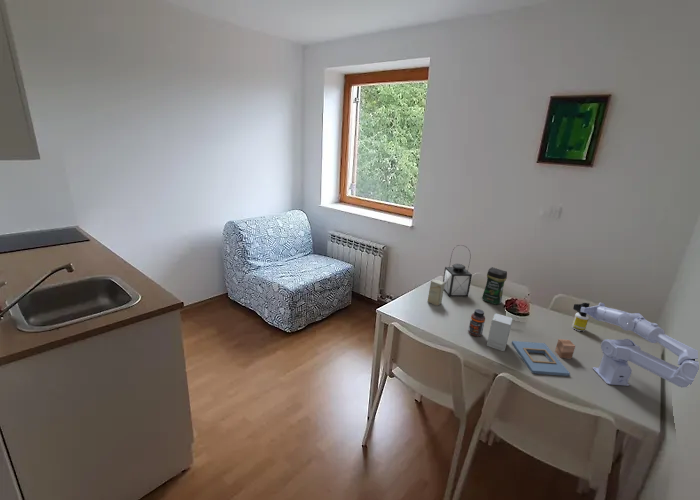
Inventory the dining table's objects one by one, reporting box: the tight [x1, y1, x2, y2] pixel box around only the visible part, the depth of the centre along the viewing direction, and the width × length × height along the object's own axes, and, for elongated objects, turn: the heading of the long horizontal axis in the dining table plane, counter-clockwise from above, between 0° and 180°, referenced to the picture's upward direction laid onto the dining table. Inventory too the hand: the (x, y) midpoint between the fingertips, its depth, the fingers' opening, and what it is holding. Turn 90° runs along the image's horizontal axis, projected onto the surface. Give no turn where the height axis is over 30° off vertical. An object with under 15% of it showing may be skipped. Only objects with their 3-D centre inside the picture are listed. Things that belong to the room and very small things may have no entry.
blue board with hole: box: [511, 340, 571, 377], centre depth 144 cm, size 20×14×2 cm
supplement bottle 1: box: [467, 308, 486, 337], centre depth 158 cm, size 6×6×11 cm
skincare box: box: [427, 278, 445, 307], centre depth 184 cm, size 6×4×12 cm
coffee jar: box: [481, 266, 508, 305], centre depth 189 cm, size 10×8×19 cm
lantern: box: [442, 244, 473, 298], centre depth 196 cm, size 11×11×28 cm
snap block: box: [554, 338, 576, 360], centre depth 146 cm, size 4×4×6 cm
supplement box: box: [486, 312, 513, 352], centre depth 150 cm, size 7×7×13 cm
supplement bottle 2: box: [571, 312, 590, 332], centre depth 167 cm, size 5×5×10 cm
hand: (582, 308), depth 149 cm, fingers open, 7 cm apart
